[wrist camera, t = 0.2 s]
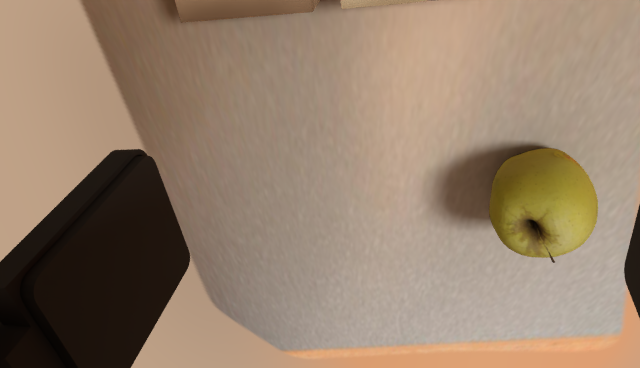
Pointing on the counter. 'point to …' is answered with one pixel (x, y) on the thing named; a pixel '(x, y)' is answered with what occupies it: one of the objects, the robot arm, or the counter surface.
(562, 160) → the apple
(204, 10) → the walnut plinth
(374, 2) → the maple plinth
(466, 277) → the counter surface
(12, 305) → the robot arm
